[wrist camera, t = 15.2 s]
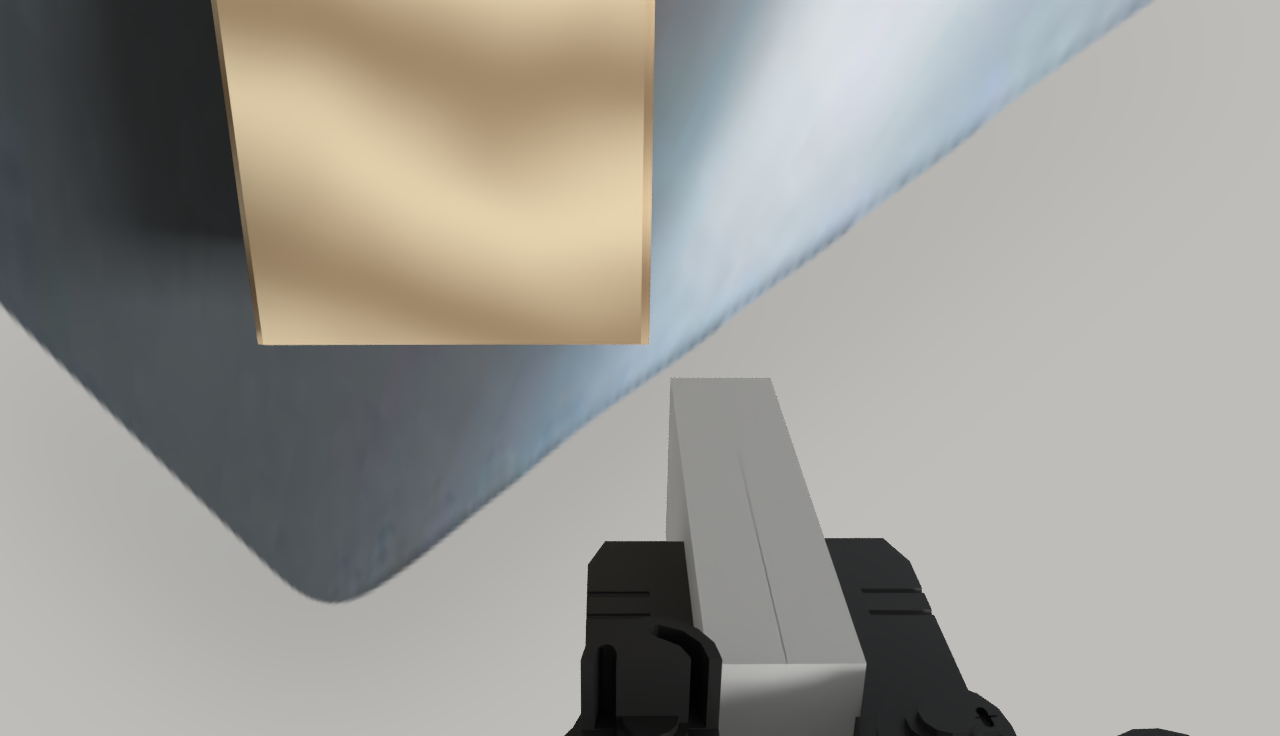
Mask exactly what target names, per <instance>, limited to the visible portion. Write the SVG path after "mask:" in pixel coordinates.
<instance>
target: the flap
mask: <svg viewBox="0 0 1280 736" xmlns="http://www.w3.org/2000/svg"><path fill="white" fill-rule="evenodd" d="M217 7H218V14H219V22H220V29H221V37H222V44H223V51H224V59H225V66H226V74H227V81H228V88H229V96H230V103H231V111H232V118H233V125H234V133H235V140H236V147H237V155H238V162H239V170H240V177H241V184H242V192H243V199H244V207H245V214H246V221H247V229H248V236H249V243H250V251H251V258H252V266H253V273H254V280H255V288H256V295H257V303H258V310H259V317H260V325H261V332H262V339H263V345H449V344H641V290H642V217H643V144H644V72H645V0H217Z"/></svg>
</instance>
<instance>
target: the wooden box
mask: <svg viewBox="0 0 1280 736" xmlns="http://www.w3.org/2000/svg"><path fill="white" fill-rule="evenodd" d="M211 4H212V12H213V19H214V26H215V34H216V41H217V48H218V55H219V63H220V70H221V77H222V85H223V92H224V99H225V106H226V114H227V121H228V128H229V136H230V143H231V150H232V157H233V165H234V172H235V179H236V186H237V194H238V201H239V208H240V216H241V223H242V230H243V237H244V245H245V252H246V259H247V267H248V274H249V281H250V288H251V296H252V303H253V310H254V318H255V325H256V332H257V339H258V344H263V339H262V332H261V325H260V317H259V310H258V303H257V295H256V288H255V280H254V273H253V266H252V258H251V251H250V243H249V236H248V229H247V221H246V214H245V207H244V199H243V192H242V184H241V177H240V170H239V162H238V155H237V147H236V140H235V133H234V125H233V118H232V111H231V103H230V96H229V88H228V81H227V74H226V66H225V59H224V51H223V44H222V37H221V29H220V22H219V14H218V7H217V0H211ZM654 31H655V0H645V72H644V144H643V217H642V290H641V344H649V324H650V265H651V207H652V148H653V89H654Z"/></svg>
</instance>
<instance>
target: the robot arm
mask: <svg viewBox="0 0 1280 736" xmlns="http://www.w3.org/2000/svg"><path fill="white" fill-rule="evenodd" d="M669 416H670V417H669V449H668V483H667V516H666V540H667V541H624V542H623V541H621V542H620V541H605V543H604V544H603V545H602V546H601V548H600V549H599V551H598V552H597V553H596V555H595V556H594V557H593V559H592V560H591V561H590V563H589V564H588V582H587V583H588V584H587V619H586V646H585V650H584V652H583V655H582V658H581V715H580V716H579V718H578V720H577V721H576V723H575V725H574V727H573V728H572V729H571V730H570V731H569V732H568V733H567V734H566V735H565V736H1016V734H1015V732H1014V729H1013V727H1012V726H1011V724H1010V723H1009V722H1008V720H1007V719H1006V718H1005V716H1004V715H1003V714H1002V713H1001V711H1000V710H999V709H998V708H997V707H996V706H994V705H993V704H991V703H990V702H989V701H987V700H986V699H984V698H982V697H981V696H979V695H978V694H977V693H974V692H971V691H969V690H968V689H967V687H966V684H965V682H964V680H963V678H962V676H961V674H960V671H959V669H958V667H957V665H956V662H955V660H954V658H953V656H952V654H951V651H950V649H949V647H948V645H947V643H946V640H945V638H944V636H943V634H942V632H941V629H940V627H939V625H938V623H937V620H936V618H935V616H934V615H932V613H931V607H930V605H929V603H928V601H927V598H926V596H925V594H924V593H922V588H921V585H920V583H919V581H918V579H917V577H916V574H915V572H914V570H913V568H912V565H911V563H910V561H909V560H908V559H906V558H905V557H904V556H903V555H902V554H900V553H899V552H898V551H897V550H896V549H895V548H893V547H892V546H891V545H890V544H889V543H888V542H887V541H886V540H884V539H883V538H824V536H823V533H822V530H821V527H820V524H819V521H818V518H817V515H816V512H815V509H814V506H813V503H812V500H811V498H810V494H809V491H808V489H807V486H806V483H805V480H804V477H803V474H802V471H801V468H800V465H799V462H798V459H797V456H796V453H795V450H794V447H793V444H792V441H791V438H790V435H789V432H788V429H787V426H786V423H785V420H784V417H783V414H782V411H781V409H780V405H779V402H778V400H777V396H776V394H775V391H774V388H773V385H772V382H771V379H770V378H671V384H670V415H669ZM1118 736H1189V735H1186V734H1182V733H1177V732H1173V731H1168V730H1163V729H1159V728H1156V729H1132V730H1130V731H1128V732H1126V733H1123V734H1121V735H1118Z"/></svg>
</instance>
